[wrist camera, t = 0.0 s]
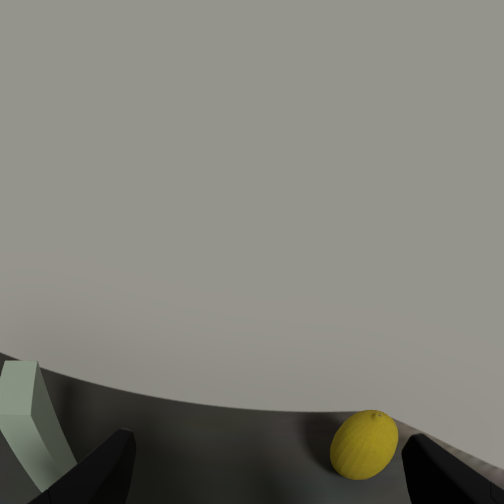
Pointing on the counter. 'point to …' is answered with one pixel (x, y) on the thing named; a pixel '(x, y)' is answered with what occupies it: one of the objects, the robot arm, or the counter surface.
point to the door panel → (32, 424)
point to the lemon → (364, 444)
